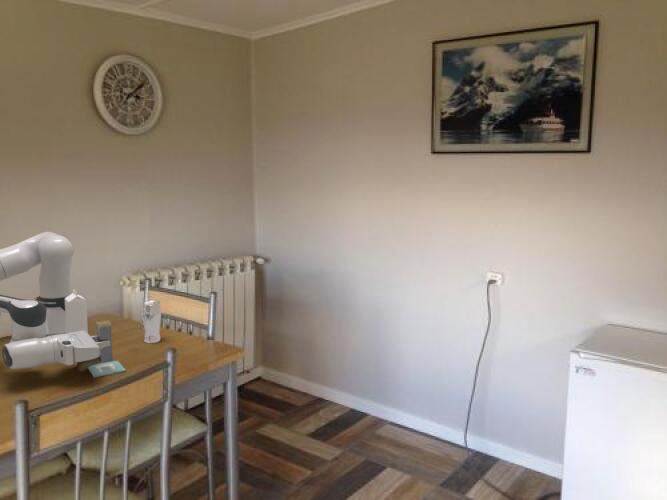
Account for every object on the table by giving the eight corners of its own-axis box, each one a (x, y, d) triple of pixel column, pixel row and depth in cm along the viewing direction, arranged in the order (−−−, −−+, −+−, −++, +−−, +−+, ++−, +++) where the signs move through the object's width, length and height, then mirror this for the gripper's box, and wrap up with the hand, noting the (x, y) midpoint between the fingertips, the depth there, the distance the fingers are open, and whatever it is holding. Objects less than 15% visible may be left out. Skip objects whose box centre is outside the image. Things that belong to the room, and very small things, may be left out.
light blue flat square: (94, 377, 186) (94, 375, 186) (86, 367, 194) (86, 365, 194) (125, 371, 192) (125, 369, 191) (117, 362, 200) (117, 360, 199)
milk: (71, 353, 207) (67, 293, 204) (67, 348, 212) (63, 289, 208) (89, 350, 211) (85, 291, 207) (84, 345, 216) (81, 287, 212)
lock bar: (100, 363, 189) (98, 325, 187) (97, 359, 192) (95, 322, 190) (113, 360, 191) (111, 323, 189) (110, 357, 195) (108, 320, 193)
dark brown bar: (77, 371, 191) (77, 362, 190) (100, 358, 202) (100, 350, 202) (82, 371, 190) (82, 363, 190) (105, 359, 202) (105, 351, 201)
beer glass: (158, 343, 219) (157, 305, 217) (140, 343, 219) (139, 304, 217) (164, 338, 226) (163, 300, 224) (146, 337, 226) (145, 300, 224)
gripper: (56, 348, 192) (100, 341, 200) (69, 367, 176) (116, 359, 184) (55, 329, 191) (99, 323, 199) (68, 347, 175) (115, 339, 183)
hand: (107, 340), depth 191 cm, fingers closed on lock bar, 4 cm apart
